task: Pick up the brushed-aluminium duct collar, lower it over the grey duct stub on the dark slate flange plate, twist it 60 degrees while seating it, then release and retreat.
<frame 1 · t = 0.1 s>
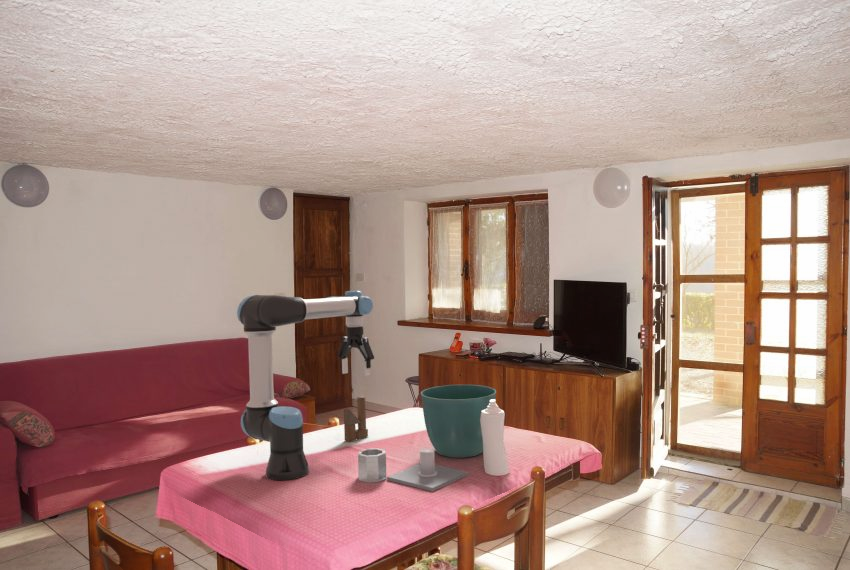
hand: (356, 374, 268), 28 cm above the table, fingers open, 13 cm apart
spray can: (495, 470, 219), on the table
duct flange: (427, 477, 213), on the table
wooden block: (356, 439, 267), on the table
collar: (372, 477, 214), on the table
flower pot: (460, 452, 244), on the table
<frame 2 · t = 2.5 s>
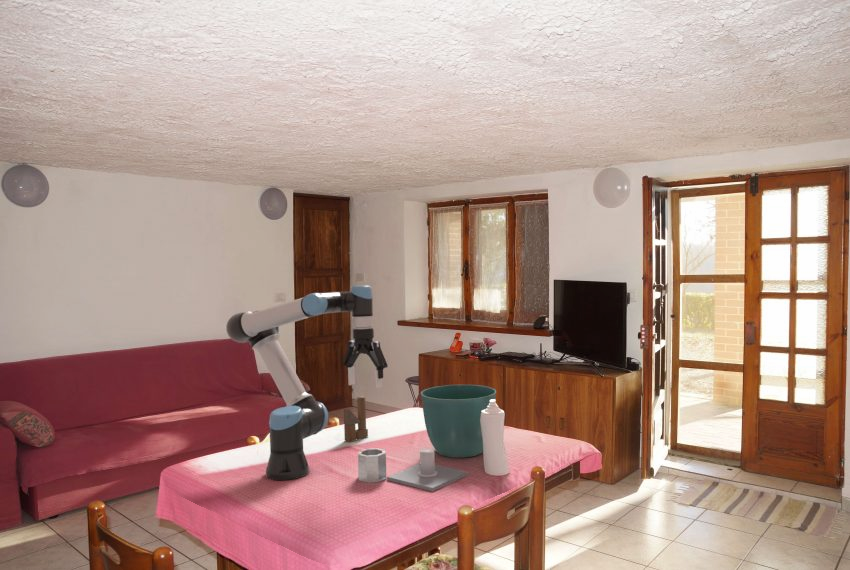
hand: (365, 386, 223), 31 cm above the table, fingers open, 13 cm apart
nothing on the table moved.
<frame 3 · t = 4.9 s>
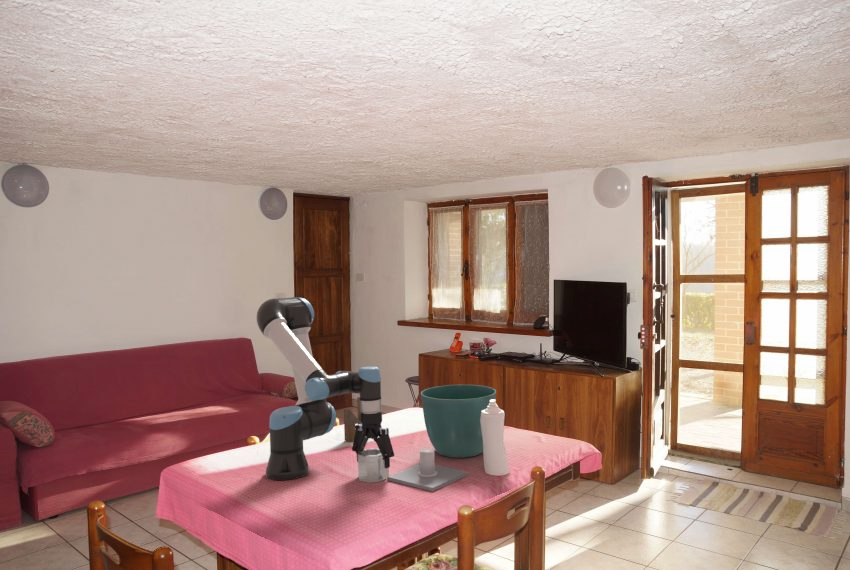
hand: (373, 474, 214), 1 cm above the table, fingers open, 11 cm apart
collar: (372, 477, 214), on the table, touching gripper
everything else where it was.
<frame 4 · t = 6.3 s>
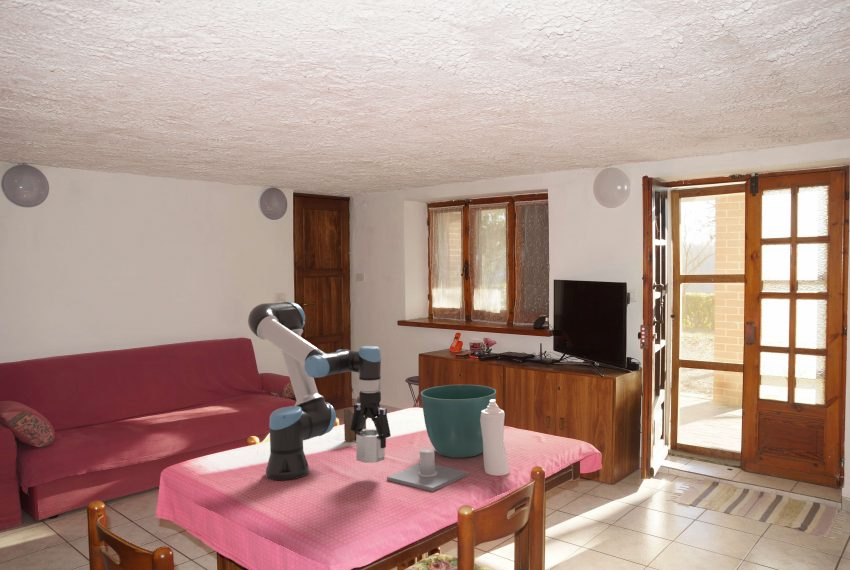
hand: (370, 454, 215), 8 cm above the table, fingers closed on collar, 10 cm apart
collar: (370, 458, 215), point 7 cm above the table, touching gripper
everything else where it was.
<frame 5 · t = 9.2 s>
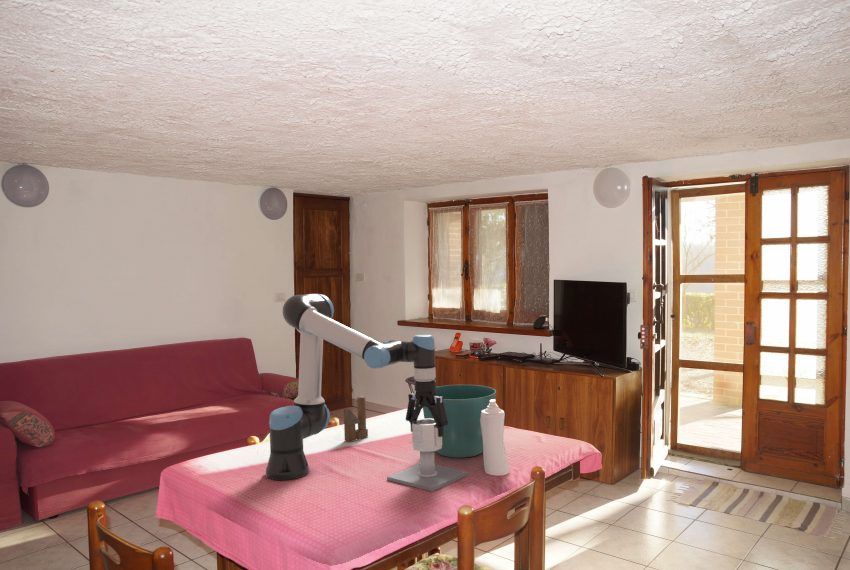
hand: (427, 443, 213), 12 cm above the table, fingers closed on collar, 10 cm apart
collar: (427, 447, 213), point 11 cm above the table, touching gripper
everything else where it was.
when the fingers open (3 cm above the table, at t = 12.2 s): collar stays where it is, resting on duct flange.
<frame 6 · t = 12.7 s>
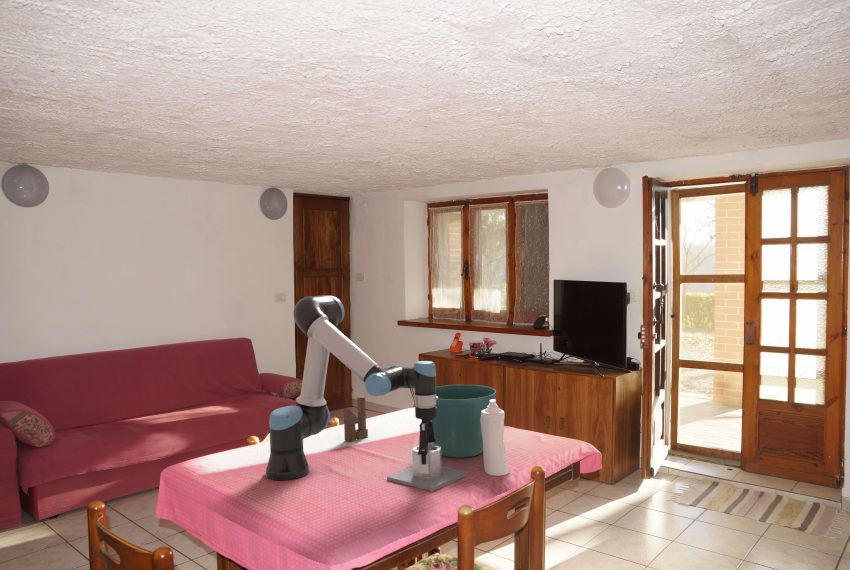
hand: (427, 467, 213), 4 cm above the table, fingers open, 13 cm apart
collar: (427, 474, 213), point 1 cm above the table, touching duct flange
everything else where it was.
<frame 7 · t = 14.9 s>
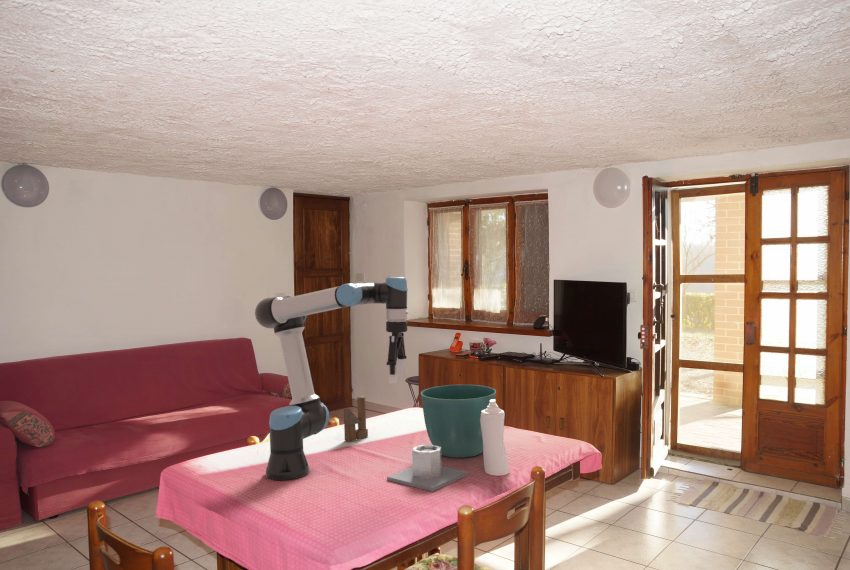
hand: (396, 380, 217), 33 cm above the table, fingers open, 13 cm apart
nothing on the table moved.
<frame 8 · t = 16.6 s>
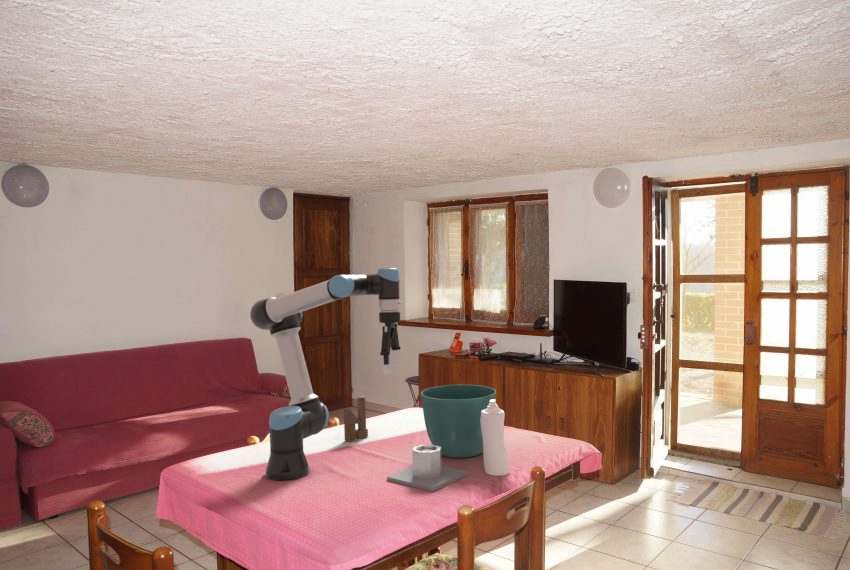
hand: (391, 370, 218), 37 cm above the table, fingers open, 13 cm apart
nothing on the table moved.
at the end: collar 0.0 cm off-centre on the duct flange, point 1.2 cm above the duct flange's base; collar tilted 0°; the gripper is holding nothing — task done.
